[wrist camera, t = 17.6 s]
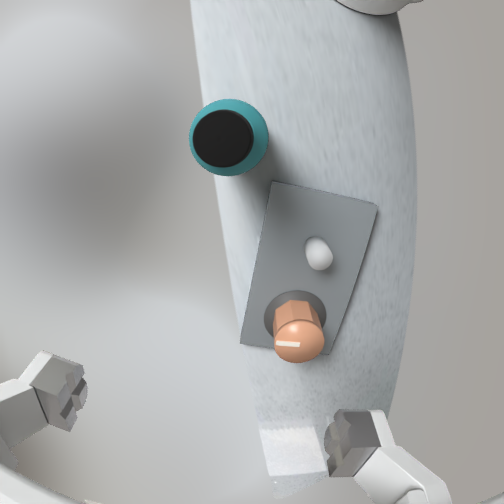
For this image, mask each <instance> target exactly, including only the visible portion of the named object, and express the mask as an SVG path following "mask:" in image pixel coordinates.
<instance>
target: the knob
mask: <svg viewBox="0 0 504 504" xmlns="http://www.w3.org/2000/svg"><path fill="white" fill-rule="evenodd" d="M273 332H274V347H275V351H276V353H277V355H278V356H279V357H280V358H282V359H283V360H285V361H288V362H291V363H302V362H306V361H309V360H311V359H313V358H315V357H316V356H317V355H318V354H319V353H320V352H321V351H322V349H323V346H324V336H323V331H322V328H321V324H320V321H319V318H318V314H317V312H316V311H315V310H314V309H313V307H312V306H311V305H310V304H309V303H308V302H307V301H296V300H289V301H288V302H286V303H285V304H283V305H282V306H280V307H279V308H277V309H276V310H275V316H274V321H273Z"/></svg>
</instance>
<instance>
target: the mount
mask: <svg viewBox="0 0 504 504" xmlns="http://www.w3.org/2000/svg"><path fill="white" fill-rule="evenodd" d="M377 209H378V206H377V205H375V204H374V203H371V202H367V201H363V200H359V199H355V198H351V197H346V196H342V195H338V194H333V193H329V192H324V191H320V190H315V189H310V188H306V187H301V186H296V185H291V184H286V183H281V182H276V181H272V183H271V188H270V193H269V198H268V203H267V208H266V213H265V218H264V223H263V228H262V233H261V238H260V243H259V248H258V253H257V258H256V263H255V268H254V273H253V278H252V283H251V288H250V293H249V297H248V302H247V307H246V312H245V317H244V322H243V327H242V332H241V338H240V344H246V345H252V346H259V347H266V348H273V349H275V347H274V332H273V321H274V316H275V310H276V309H277V308H279V307H280V306H282V305H283V304H285V303H286V302H288V301H289V300H296V301H307V302H308V303H309V304H310V305H311V306H312V307H313V309H314V310H315V311H316V312H317V314H318V318H319V321H320V324H321V328H322V331H323V336H324V346H323V349H322V351H321V352H320V353H319V354H324V355H329V353H330V350H331V348H332V345H333V343H334V340H335V337H336V335H337V332H338V330H339V327H340V324H341V322H342V319H343V316H344V313H345V311H346V308H347V305H348V302H349V299H350V296H351V294H352V291H353V288H354V285H355V282H356V279H357V276H358V273H359V270H360V267H361V263H362V260H363V257H364V254H365V251H366V247H367V244H368V241H369V237H370V234H371V230H372V227H373V223H374V220H375V216H376V213H377Z"/></svg>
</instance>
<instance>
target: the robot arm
mask: <svg viewBox="0 0 504 504" xmlns="http://www.w3.org/2000/svg"><path fill="white" fill-rule="evenodd" d="M337 1H339V2H340V3H342V4H343V5H345V6H347V7H349V8H351V9H354V10H356V11H359V12H363V13H367V14H373V15H386V14H391V13H394V12H397V11H399V10H400V9H402V8H403V7H404V6H405V5H407V4H409V3H417V2H421V1H423V0H337ZM83 375H84V369H83V365H80V364H78V363H75V362H73V361H70V360H67V359H65V358H62V357H59V356H57V355H54V354H51V353H49V352H46V351H44V350H43V351H41V352H39V353H38V355H37V356H36V357H35V358H34V360H33V361H32V362H31V363H30V365H29V366H28V367H27V368H26V370H25V371H24V372H23V373H22V375H21V376H20V377H19V379H18V380H17V379H12V380H9V381H7V382H4V383H1V384H0V504H85V503H82V502H80V501H77V500H75V499H72V498H70V497H68V496H65V495H63V494H61V493H58V492H56V491H54V490H52V489H50V488H47V487H45V486H43V485H41V484H39V483H37V482H35V481H33V480H31V479H29V478H27V477H25V476H24V475H22V474H20V473H18V472H16V471H15V469H16V467H17V465H18V460H17V458H16V457H15V455H14V454H13V452H12V451H11V448H12V447H14V446H15V445H17V444H19V443H20V442H22V441H24V440H25V439H27V438H28V437H30V436H32V435H33V434H35V433H36V432H38V431H40V430H41V429H43V428H44V427H46V426H47V425H48V424H50V425H53V426H55V427H58V428H61V429H63V430H66V431H69V432H70V431H71V429H72V427H73V425H74V423H75V421H76V419H77V415H76V411H78V410H80V409H82V408H83V406H84V404H85V402H86V398H87V383H86V381H85V380H84V379H83V378H82V376H83ZM334 420H335V422H333V423H331V424H330V425H329V426H328V428H327V430H326V433H325V437H324V446H325V451H326V452H327V453H328V454H329V455H330V457H329V459H328V460H327V465H328V471H329V477H353V478H354V480H355V481H356V482H357V483H358V484H359V486H360V487H361V488H362V489H363V490H364V491H365V493H366V494H367V495H368V496H369V497H370V499H371V500H372V501H373V502H374V503H375V504H453V503H452V500H451V497H450V494H449V492H448V489H447V486H446V484H445V482H444V481H442V480H441V479H440V478H439V477H437V476H436V475H435V474H434V473H432V472H431V471H430V470H428V469H427V468H426V467H425V466H424V465H422V464H421V463H420V462H419V461H418V460H416V459H415V458H414V457H413V456H411V455H410V454H409V453H408V452H407V451H405V450H404V449H403V448H402V447H401V446H396V444H395V441H394V439H393V436H392V433H391V430H390V428H389V425H388V422H387V419H386V417H385V414H384V412H383V411H382V410H349V409H339V410H338V411H337V412H336V413H335V415H334ZM477 504H504V492H503V493H501V494H499V495H496V496H494V497H492V498H489V499H487V500H485V501H482V502H480V503H477Z"/></svg>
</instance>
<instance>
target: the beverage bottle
mask: <svg viewBox="0 0 504 504" xmlns="http://www.w3.org/2000/svg"><path fill="white" fill-rule="evenodd" d="M189 144H190V149H191V152H192V154H193V156H194V158H195V159H196V161H197V162H198V163H199V164H200V165H201V166H202V167H203V168H204V169H206V170H208V171H209V172H211V173H214V174H217V175H221V176H235V175H239V174H242V173H245V172H247V171H249V170H250V169H252V168H253V167H254V166H256V165H257V164H258V163H259V161H260V160H261V159H262V157H263V156H264V154H265V151H266V149H267V145H268V129H267V124H266V122H265V120H264V118H263V117H262V115H261V114H260V113H259V112H258V111H257V110H256V109H255V108H254V107H253V106H251V105H250V104H248V103H246V102H243V101H240V100H236V99H223V100H218V101H215V102H213V103H211V104H209V105H207V106H206V107H204V108H203V109H202V110H201V111H200V112H199V113H198V114H197V116H196V117H195V119H194V120H193V122H192V125H191V128H190V132H189Z"/></svg>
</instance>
